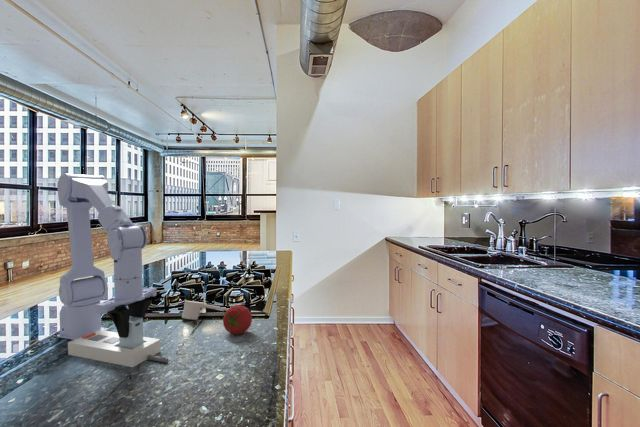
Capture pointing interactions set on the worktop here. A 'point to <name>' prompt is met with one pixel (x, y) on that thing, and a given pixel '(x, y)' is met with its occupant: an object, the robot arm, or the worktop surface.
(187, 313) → the toilet paper hanger
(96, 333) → the power strip
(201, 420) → the worktop surface
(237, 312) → the tomato
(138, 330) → the block
